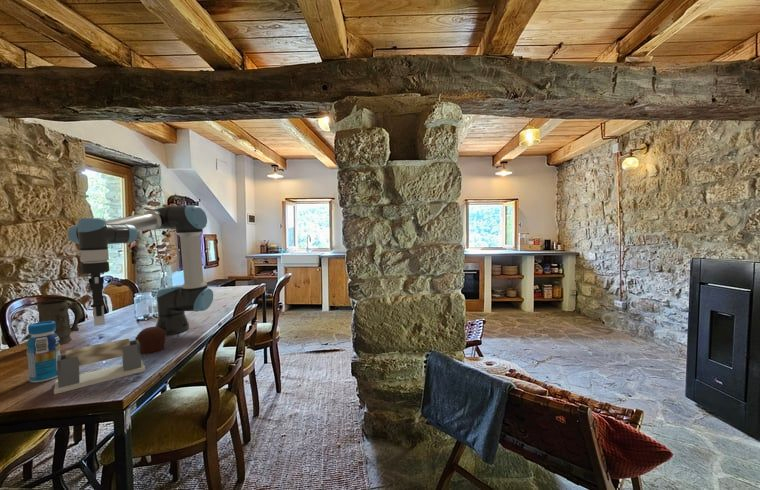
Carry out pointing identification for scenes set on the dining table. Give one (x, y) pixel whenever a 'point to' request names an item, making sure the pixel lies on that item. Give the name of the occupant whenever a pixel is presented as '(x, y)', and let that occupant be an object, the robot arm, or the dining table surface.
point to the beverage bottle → (42, 351)
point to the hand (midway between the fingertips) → (99, 321)
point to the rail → (98, 352)
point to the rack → (73, 379)
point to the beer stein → (60, 317)
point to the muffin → (151, 340)
